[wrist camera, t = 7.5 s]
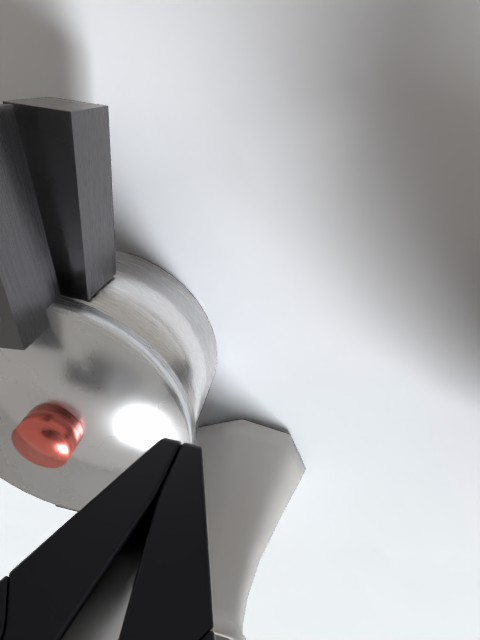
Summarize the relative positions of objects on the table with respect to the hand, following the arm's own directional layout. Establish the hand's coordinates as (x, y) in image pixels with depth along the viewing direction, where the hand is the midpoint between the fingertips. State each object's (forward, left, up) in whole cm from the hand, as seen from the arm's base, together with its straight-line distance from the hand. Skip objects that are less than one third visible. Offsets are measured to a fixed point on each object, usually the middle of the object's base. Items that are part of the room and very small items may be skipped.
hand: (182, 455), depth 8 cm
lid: (+7, +4, -7) cm, 11 cm away
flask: (-1, +14, -12) cm, 19 cm away
